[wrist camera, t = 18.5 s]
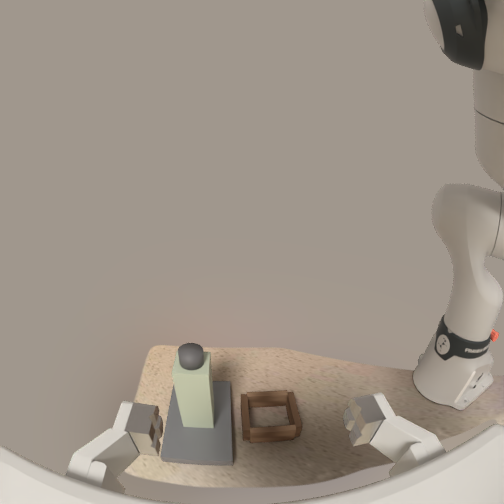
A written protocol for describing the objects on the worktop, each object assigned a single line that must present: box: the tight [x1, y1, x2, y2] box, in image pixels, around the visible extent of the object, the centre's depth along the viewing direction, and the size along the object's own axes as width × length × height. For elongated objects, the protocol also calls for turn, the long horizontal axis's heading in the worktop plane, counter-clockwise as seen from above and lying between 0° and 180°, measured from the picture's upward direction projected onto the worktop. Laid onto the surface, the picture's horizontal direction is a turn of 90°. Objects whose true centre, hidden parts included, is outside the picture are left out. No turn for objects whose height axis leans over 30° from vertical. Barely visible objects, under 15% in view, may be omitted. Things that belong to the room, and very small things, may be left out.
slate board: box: [161, 381, 233, 465], centre depth 37 cm, size 10×17×2 cm, turn 4°
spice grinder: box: [172, 343, 214, 428], centre depth 34 cm, size 5×5×14 cm
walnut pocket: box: [241, 390, 302, 443], centre depth 38 cm, size 9×9×3 cm
